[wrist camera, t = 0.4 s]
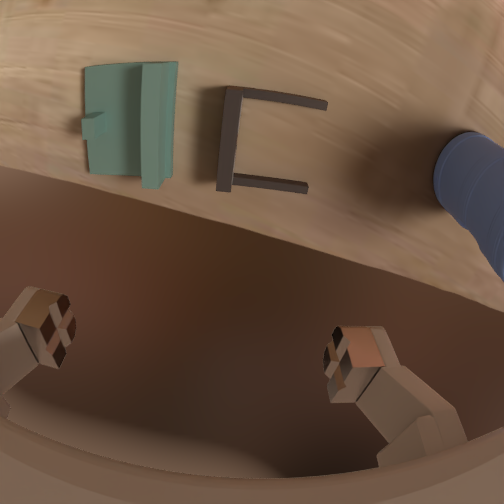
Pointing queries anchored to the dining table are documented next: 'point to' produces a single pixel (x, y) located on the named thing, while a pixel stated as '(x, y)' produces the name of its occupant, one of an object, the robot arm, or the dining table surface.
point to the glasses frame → (230, 135)
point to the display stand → (131, 120)
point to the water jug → (475, 191)
